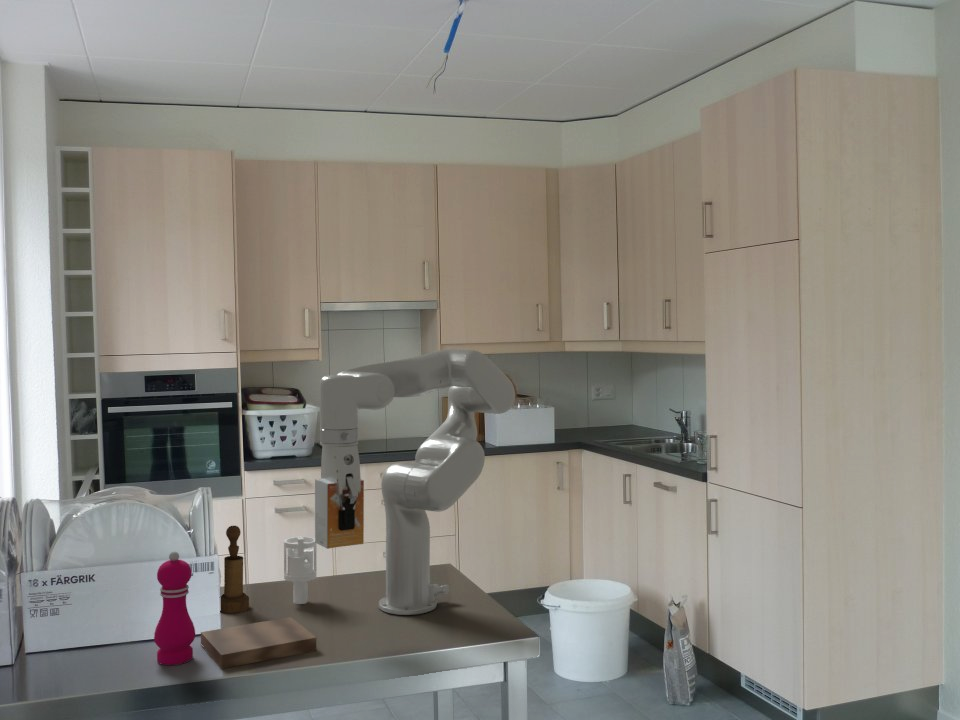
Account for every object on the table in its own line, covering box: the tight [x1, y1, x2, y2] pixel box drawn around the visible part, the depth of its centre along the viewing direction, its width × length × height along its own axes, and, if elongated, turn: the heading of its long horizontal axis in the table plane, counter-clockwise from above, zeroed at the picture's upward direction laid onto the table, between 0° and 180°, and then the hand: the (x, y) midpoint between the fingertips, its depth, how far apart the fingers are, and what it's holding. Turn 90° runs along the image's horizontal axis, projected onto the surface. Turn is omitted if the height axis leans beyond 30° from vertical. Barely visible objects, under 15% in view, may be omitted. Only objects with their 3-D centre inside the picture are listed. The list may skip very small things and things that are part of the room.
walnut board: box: [200, 616, 317, 669], centre depth 176 cm, size 18×14×2 cm
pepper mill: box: [153, 551, 196, 666], centre depth 170 cm, size 7×7×20 cm
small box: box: [314, 478, 365, 549], centre depth 185 cm, size 8×6×13 cm
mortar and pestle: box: [220, 525, 250, 614], centre depth 200 cm, size 7×6×18 cm
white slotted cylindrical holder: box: [283, 535, 318, 605], centre depth 205 cm, size 7×7×15 cm
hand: (339, 525), depth 185 cm, fingers closed on small box, 6 cm apart
